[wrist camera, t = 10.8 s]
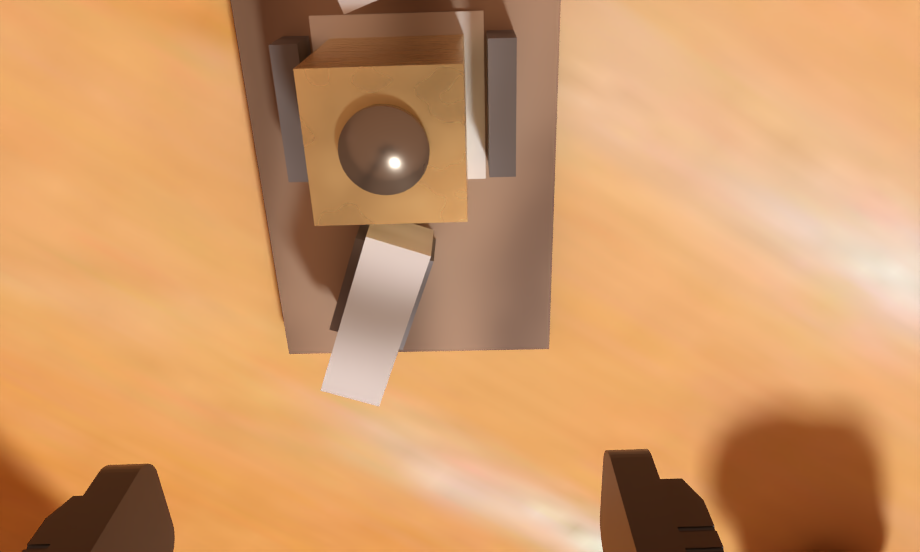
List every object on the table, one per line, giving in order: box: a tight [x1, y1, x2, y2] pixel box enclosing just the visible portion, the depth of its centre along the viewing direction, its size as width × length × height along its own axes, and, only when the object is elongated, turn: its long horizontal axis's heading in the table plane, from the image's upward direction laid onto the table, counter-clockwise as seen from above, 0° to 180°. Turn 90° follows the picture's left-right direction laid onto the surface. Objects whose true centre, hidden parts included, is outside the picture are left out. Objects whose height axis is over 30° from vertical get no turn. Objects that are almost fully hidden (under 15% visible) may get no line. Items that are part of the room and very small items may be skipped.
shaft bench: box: [231, 0, 561, 406], centre depth 25 cm, size 12×23×6 cm, turn 2°
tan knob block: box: [293, 34, 468, 226], centre depth 24 cm, size 5×5×6 cm
